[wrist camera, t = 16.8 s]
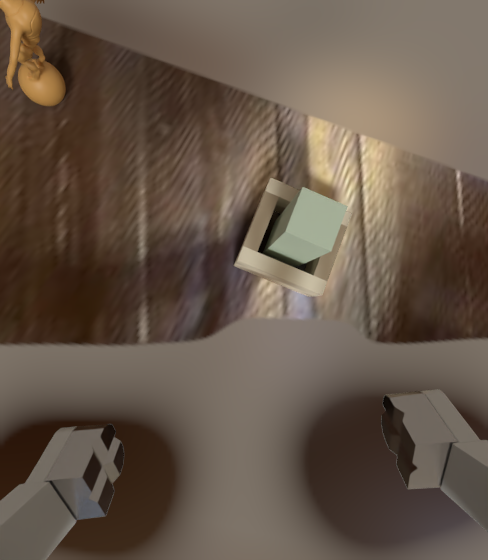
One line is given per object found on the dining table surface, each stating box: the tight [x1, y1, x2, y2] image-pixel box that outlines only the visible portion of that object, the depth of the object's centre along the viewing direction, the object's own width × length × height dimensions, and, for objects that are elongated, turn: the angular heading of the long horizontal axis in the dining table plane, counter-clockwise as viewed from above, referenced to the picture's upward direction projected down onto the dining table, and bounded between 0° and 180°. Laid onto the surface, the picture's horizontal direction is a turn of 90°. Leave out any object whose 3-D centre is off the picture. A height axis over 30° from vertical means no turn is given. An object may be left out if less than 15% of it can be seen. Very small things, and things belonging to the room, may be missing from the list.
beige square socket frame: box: [234, 178, 352, 297], centre depth 33 cm, size 9×9×4 cm
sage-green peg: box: [263, 187, 348, 267], centre depth 30 cm, size 4×4×10 cm
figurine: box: [0, 0, 66, 106], centre depth 27 cm, size 8×6×12 cm
